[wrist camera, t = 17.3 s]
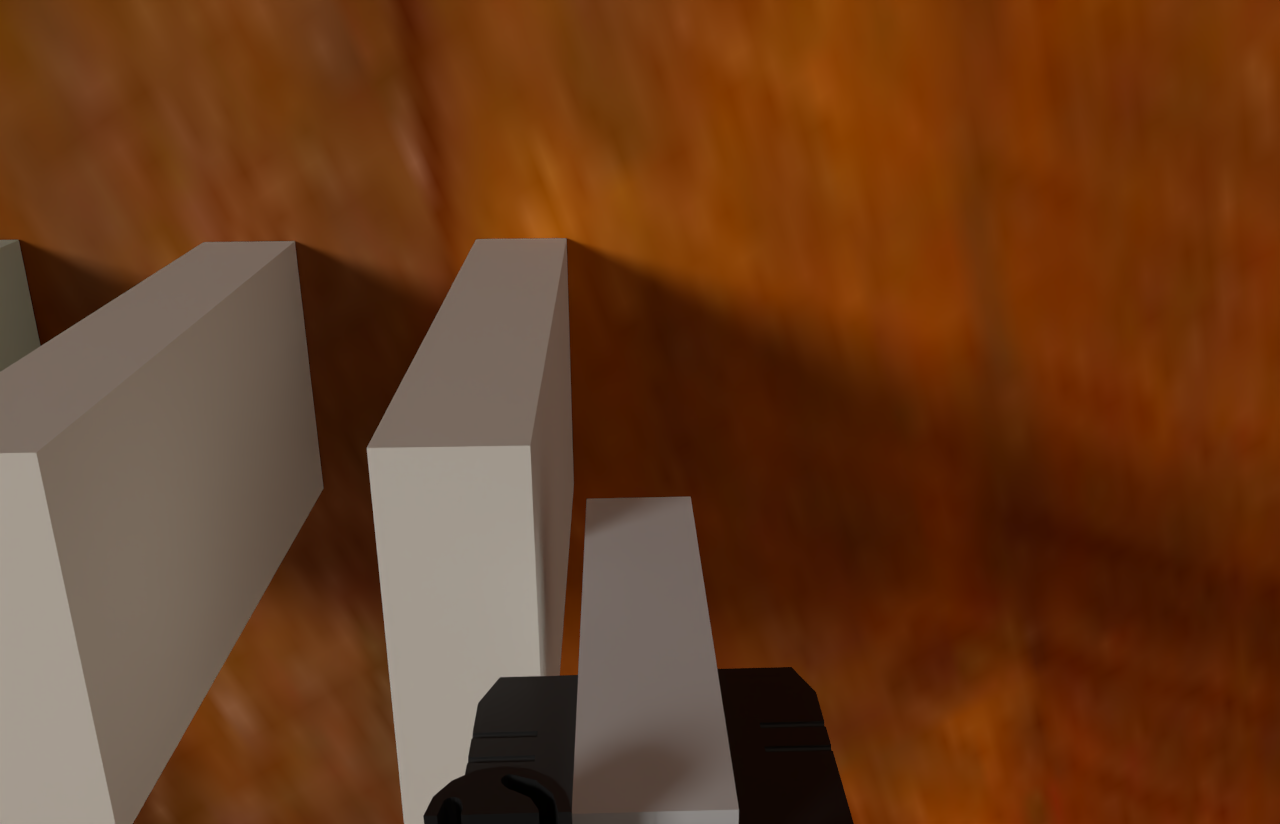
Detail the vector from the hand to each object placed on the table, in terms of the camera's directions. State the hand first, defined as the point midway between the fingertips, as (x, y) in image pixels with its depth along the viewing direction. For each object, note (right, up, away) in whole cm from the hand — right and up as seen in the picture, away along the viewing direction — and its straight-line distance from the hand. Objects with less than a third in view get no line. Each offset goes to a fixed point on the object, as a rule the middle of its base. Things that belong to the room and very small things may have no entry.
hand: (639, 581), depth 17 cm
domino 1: (-9, +3, +9) cm, 13 cm away
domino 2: (-3, +4, +10) cm, 11 cm away
